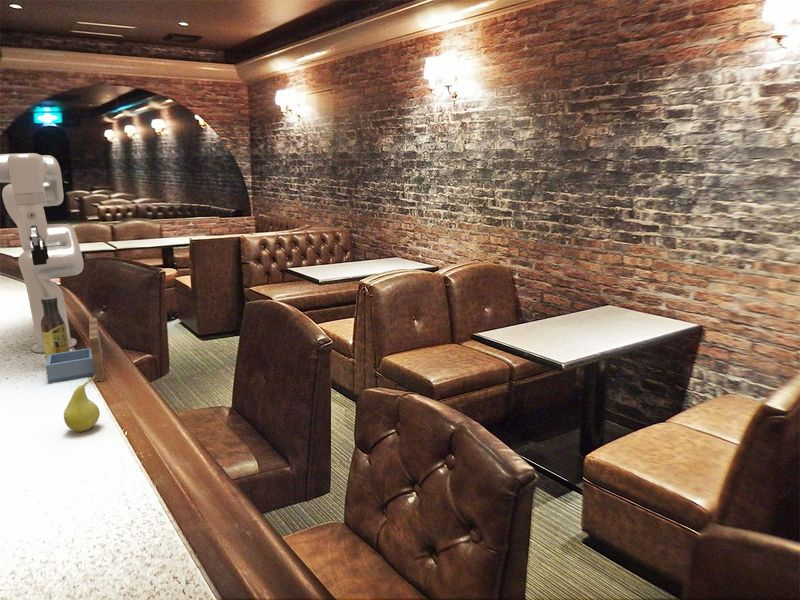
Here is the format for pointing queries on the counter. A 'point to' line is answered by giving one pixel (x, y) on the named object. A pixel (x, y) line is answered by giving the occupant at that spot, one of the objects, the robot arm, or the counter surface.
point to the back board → (96, 349)
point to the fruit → (81, 410)
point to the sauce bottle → (53, 328)
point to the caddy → (69, 365)
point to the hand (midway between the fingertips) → (41, 262)
